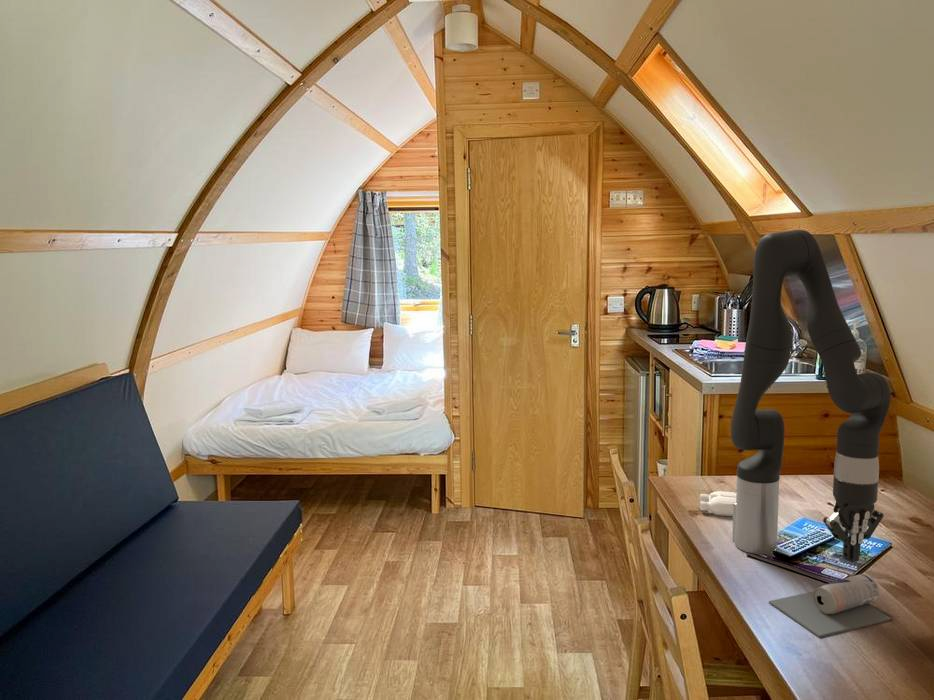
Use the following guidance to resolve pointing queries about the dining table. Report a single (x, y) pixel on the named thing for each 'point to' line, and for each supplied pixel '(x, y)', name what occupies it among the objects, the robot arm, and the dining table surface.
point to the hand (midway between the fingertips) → (851, 560)
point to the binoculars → (718, 502)
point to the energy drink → (845, 594)
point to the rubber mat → (826, 615)
